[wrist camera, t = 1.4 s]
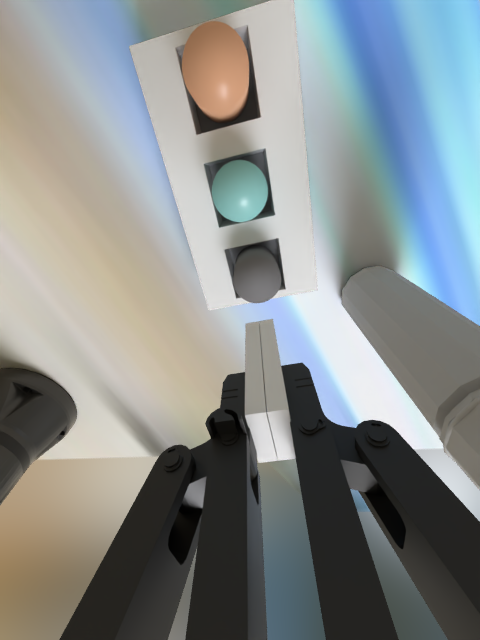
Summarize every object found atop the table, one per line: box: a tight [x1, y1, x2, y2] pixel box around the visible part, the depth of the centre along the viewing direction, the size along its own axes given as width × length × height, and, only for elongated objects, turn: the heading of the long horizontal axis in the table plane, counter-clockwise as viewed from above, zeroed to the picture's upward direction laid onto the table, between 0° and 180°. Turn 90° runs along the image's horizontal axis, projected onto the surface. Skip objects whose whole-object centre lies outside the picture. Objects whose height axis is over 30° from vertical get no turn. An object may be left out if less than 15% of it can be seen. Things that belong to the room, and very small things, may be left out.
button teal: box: [212, 160, 268, 222], centre depth 23 cm, size 4×4×5 cm
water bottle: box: [342, 266, 480, 490], centre depth 22 cm, size 9×8×25 cm
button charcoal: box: [233, 245, 281, 303], centre depth 27 cm, size 4×4×5 cm
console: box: [129, 0, 318, 310], centre depth 26 cm, size 12×22×5 cm, turn 12°
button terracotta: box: [182, 21, 249, 123], centre depth 20 cm, size 4×4×5 cm
